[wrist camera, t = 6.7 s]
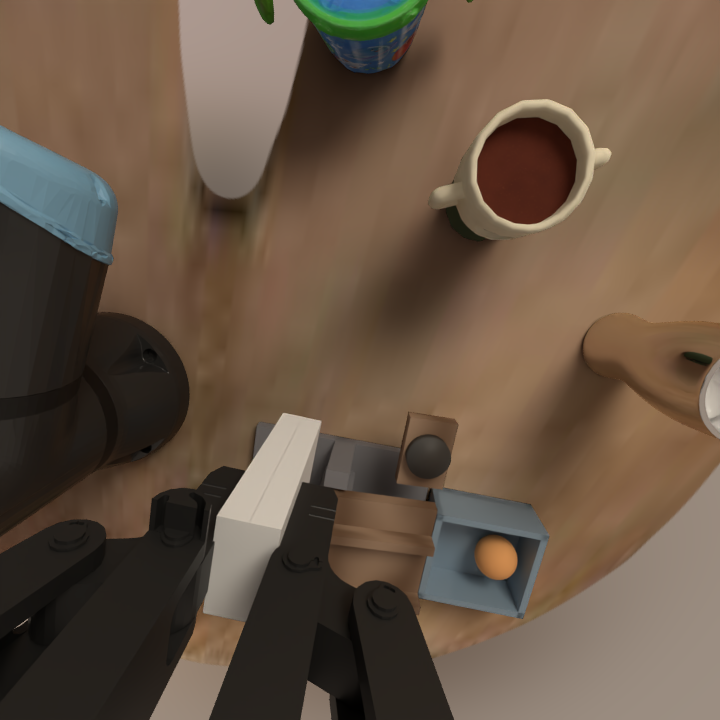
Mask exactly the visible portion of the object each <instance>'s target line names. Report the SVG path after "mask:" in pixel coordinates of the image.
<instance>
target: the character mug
mask: <svg viewBox="0 0 720 720" xmlns="http://www.w3.org/2000/svg"><path fill="white" fill-rule="evenodd" d="M611 154H612V153H611V152H610V151H609V149H608V148H597V149H595V148H594V145H593V142H592V138H591V135H590V132H589V129H588V127H587V126H586V125H585V124H584V122H583V121H582V120H581V119H580V118H579V117H578V116H577V115H576V113H575V112H574V111H573V110H572V109H570V108H568V107H566V106H563V105H561V104H558V103H556V102H554V101H551V100H549V99H544V100H523V101H521V102H519V103H517V104H514V105H512V106H510V107H508V108H506V109H504V110H502V111H500V112H499V113H498V114H497V115H496V116H495V117H494V118H493V119H492V120H491V121H490V122H489V123H488V124H487V125H486V126H485V128H484V129H483V130H482V131H481V132H480V133H479V134H478V135H477V137H476V138H475V140H474V141H473V143H472V144H471V146H470V147H469V149H468V150H467V152H466V153H465V155H464V156H463V158H462V160H461V162H460V165H459V167H458V170H457V172H456V174H455V177H454V180H453V182H452V184H450V185H446V186H442V187H439V188H437V189H436V190H434V191H433V192H432V193H431V195H430V197H429V201H428V204H429V206H430V207H431V208H432V209H442V208H446V213H447V216H448V218H449V221H450V224H451V226H452V228H453V229H455V230H456V231H457V232H458V233H459V234H460V235H462V236H463V237H464V238H468V239H471V240H475V241H482V240H484V239H485V238H487V239H490V240H508V239H514V238H519V237H523V236H526V235H530V234H534V233H537V232H540V231H543V230H546V229H549V228H551V227H553V226H555V225H556V224H558V223H560V222H562V221H563V220H565V219H566V218H567V217H568V216H569V215H570V214H571V213H572V212H573V210H574V209H575V208H576V207H577V206H578V205H579V204H580V203H581V202H582V200H583V198H584V196H585V194H586V191H587V189H588V187H589V185H590V183H591V181H592V179H593V171H594V170H595V169H597V168H599V167H601V166H603V165H604V164H605V163H607V162H608V161H609V159H610V156H611Z"/></svg>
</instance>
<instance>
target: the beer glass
mask: <svg viewBox="0 0 720 720" xmlns="http://www.w3.org/2000/svg"><path fill="white" fill-rule="evenodd" d="M583 356H584V359H585V361H586V363H587V365H588V366H589V367H590V368H591V369H592V370H593V371H594V372H595V373H597V374H599V375H601V376H603V377H607V378H612V379H618V380H622V381H623V382H624V383H626V384H627V385H628V386H629V387H630V388H631V389H632V390H633V391H634V392H635V393H636V394H638V395H639V396H640V397H641V398H642V399H643V400H644V401H646V402H647V403H648V404H650V405H651V406H652V407H654V408H655V409H656V410H658V411H659V412H661V413H663V414H665V415H666V416H668V417H670V418H671V419H673V420H675V421H677V422H679V423H682V424H684V425H686V426H688V427H690V428H692V429H695V430H697V431H700V432H702V433H704V434H707V435H709V436H712V437H715V438H717V439H719V440H720V323H714V322H706V321H676V322H660V323H650V322H648V321H646V320H644V319H642V318H640V317H638V316H636V315H633V314H629V313H614V314H610V315H607V316H605V317H603V318H601V319H599V320H598V321H597V322H595V323H594V324H593V325H592V326H591V328H590V329H589V330H588V332H587V334H586V336H585V338H584V341H583Z"/></svg>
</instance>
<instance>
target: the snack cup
mask: <svg viewBox="0 0 720 720" xmlns="http://www.w3.org/2000/svg"><path fill="white" fill-rule="evenodd" d="M254 1H255V4H256V6H257V9H258V11H259V13H260V15H261V17H262V19H263V20H264V21H265V22H266V23H267V24H272V23H273V22H274V8H273V0H254ZM427 1H428V0H294V2H295V3H296V5H297V6H298V8H299V9H300V10H301V11H302V12H303V14H304V15H305V16H306V17H307V18H308V19H309V20H310V21H311V22H312V23H313V24H314V26H315V27H316V29H317V31H318V32H319V34H320V35H321V37H322V39H323V40H324V42H325V43H326V45H327V47H328V48H329V50H330V51H331V53H332V54H333V55H334V56H335V57H336V58H337V59H338V60H339V61H340V62H341V63H342V64H343V65H344V66H345V67H346V68H347V69H349V70H351V71H353V72H354V73H355V72H361V73H367V74H369V73H376V72H379V71H382V70H385V69H387V68H392V67H393V66H394V65H395V64H396V63H397V62H398V61H399V60H400V59H401V58H402V57H403V55H404V54H405V53H406V52H407V50H408V48H409V47H410V45H411V43H412V41H413V38H414V36H415V34H416V31H417V29H418V26H419V22H420V20H421V17H422V15H423V13H424V10H425V7H426V4H427ZM472 1H473V0H467V2H468V3H469V2H472Z"/></svg>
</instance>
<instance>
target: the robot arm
mask: <svg viewBox="0 0 720 720" xmlns="http://www.w3.org/2000/svg"><path fill="white" fill-rule="evenodd" d="M117 215H118V204H117V199H116V196H115V194H114V192H113V190H112V189H111V187H110V186H109V185H108V184H107V183H106V181H105V180H103V179H102V178H101V177H100V176H99V175H97V174H95V173H94V172H92V171H90V170H88V169H86V168H85V167H83V166H81V165H79V164H77V163H75V162H73V161H71V160H69V159H67V158H65V157H63V156H61V155H59V154H57V153H55V152H53V151H51V150H49V149H47V148H45V147H43V146H41V145H39V144H37V143H35V142H33V141H31V140H29V139H27V138H24V137H22V136H20V135H18V134H16V133H14V132H12V131H10V130H8V129H6V128H5V127H3V126H1V125H0V537H1V536H2V535H4V534H5V533H6V532H8V531H9V530H11V529H12V528H14V527H15V526H17V525H18V524H19V523H21V522H22V521H24V520H25V519H27V518H28V517H30V516H31V515H32V514H34V513H35V512H37V511H38V510H40V509H41V508H43V507H44V506H45V505H47V504H48V503H50V502H51V501H53V500H54V499H56V498H57V497H58V496H60V495H61V494H63V493H64V492H66V491H67V490H69V489H70V488H71V487H73V486H74V485H76V484H77V483H79V482H80V481H82V480H83V479H84V478H86V477H87V476H88V475H90V474H91V473H93V472H94V471H96V470H99V469H103V468H108V467H112V466H116V465H120V464H124V463H128V462H132V461H136V460H139V459H141V458H144V457H146V456H148V455H150V454H151V453H153V452H155V451H156V450H157V449H159V448H160V447H161V446H163V445H164V444H165V443H166V442H168V441H169V440H170V439H171V438H172V437H173V436H174V435H175V434H176V433H177V431H178V430H179V429H180V427H181V425H182V423H183V421H184V419H185V417H186V414H187V410H188V405H189V384H188V378H187V374H186V371H185V368H184V366H183V363H182V361H181V359H180V357H179V356H178V354H177V352H176V351H175V349H174V348H173V347H172V345H171V344H170V343H169V342H168V341H167V339H166V338H165V337H164V336H163V335H161V334H160V333H159V332H158V331H157V330H155V329H154V328H153V327H151V326H150V325H148V324H146V323H145V322H143V321H141V320H139V319H137V318H134V317H131V316H128V315H124V314H119V313H110V312H103V313H97V312H98V307H99V303H100V299H101V294H102V290H103V286H104V281H105V277H106V273H107V270H108V266H109V265H111V264H112V262H113V259H114V258H113V256H112V254H111V251H112V245H113V239H114V233H115V227H116V221H117ZM321 422H322V421H319V420H315V419H310V418H305V417H301V416H296V415H291V414H287V413H283V414H282V416H281V417H280V419H279V421H278V422H277V424H276V425H275V427H274V428H273V430H272V431H271V433H270V434H269V436H268V437H267V439H266V441H265V442H264V444H263V445H262V447H261V448H260V450H259V451H258V453H257V454H256V456H255V458H254V459H253V461H252V462H251V464H250V465H249V467H248V468H247V470H246V471H244V470H240V469H235V468H230V467H226V466H223V467H221V468H219V469H217V470H215V471H213V472H211V473H210V474H209V475H208V476H207V477H206V479H205V480H204V481H203V482H202V484H201V485H200V486H199V487H198V489H197V490H195V489H188V488H178V489H170V490H167V491H165V492H162V493H159V494H158V495H157V496H155V497H154V498H152V503H151V513H150V524H149V531H148V532H147V533H146V534H145V535H144V536H143V537H139V538H129V539H106V532H105V528H104V527H103V526H102V525H101V524H99V523H98V522H95V521H91V520H87V519H86V520H69V521H65V522H60V523H57V524H55V525H53V526H50V527H48V528H46V529H44V530H42V531H40V532H38V533H37V534H35V535H33V536H31V537H30V538H28V539H26V540H24V541H22V542H21V543H19V544H17V545H15V546H13V547H12V548H10V549H8V550H6V551H5V552H3V553H1V554H0V720H149V719H150V717H151V715H152V713H153V711H154V709H155V707H156V705H157V703H158V701H159V699H160V697H161V695H162V693H163V691H164V689H165V687H166V685H167V683H168V681H169V679H170V677H171V675H172V673H173V671H174V669H175V667H176V665H177V663H178V661H179V660H180V658H181V656H182V654H183V652H184V650H185V648H186V646H187V644H188V642H189V640H190V638H191V636H192V634H193V630H194V627H195V622H196V615H197V611H198V609H199V607H200V606H201V604H202V602H203V600H204V598H205V601H204V608H203V613H206V614H210V615H215V616H220V617H224V618H229V619H234V620H238V621H243V622H246V623H245V625H244V628H243V631H242V633H241V636H240V639H239V641H238V644H237V647H236V649H235V652H234V655H233V657H232V660H231V663H230V665H229V668H228V671H227V673H226V676H225V678H224V681H223V684H222V687H221V689H220V692H219V694H218V697H217V700H216V702H215V705H214V708H213V710H212V713H211V716H210V718H209V720H300V718H301V712H302V707H303V702H304V696H305V690H306V684H307V680H308V681H310V682H311V683H313V684H315V685H316V686H318V687H319V688H321V689H323V690H324V691H326V692H327V693H329V694H330V699H329V700H330V709H331V719H332V720H454V718H453V716H452V713H451V710H450V707H449V705H448V702H447V699H446V697H445V694H444V691H443V688H442V685H441V683H440V680H439V677H438V675H437V672H436V669H435V666H434V663H433V661H432V658H431V655H430V652H429V650H428V647H427V644H426V641H425V639H424V636H423V633H422V630H421V628H420V625H419V622H418V619H417V617H416V614H415V611H414V608H413V606H412V604H411V602H410V600H409V599H408V597H407V595H406V594H405V593H404V592H402V591H401V590H400V589H399V588H398V587H396V586H394V585H392V584H390V583H388V582H384V581H378V580H374V581H367V582H365V583H363V584H361V585H360V586H358V588H355V587H353V586H351V585H349V584H348V583H346V582H344V581H343V580H341V579H340V578H339V577H338V576H337V575H336V574H335V573H334V572H333V570H332V569H331V567H330V564H329V561H328V554H329V548H330V543H331V537H332V531H333V526H334V520H335V514H336V508H337V503H338V498H337V495H336V493H335V491H334V489H333V488H329V487H324V486H320V485H315V484H310V483H309V482H310V477H311V472H312V467H313V462H314V457H315V452H316V447H317V442H318V437H319V432H320V427H321ZM26 619H28V621H26V622H25V623H24V624H22V625H21V626H19V627H17V626H18V625H20V624H21V623H22V622H24V621H25V620H26ZM16 627H17V628H16ZM14 628H15V629H14Z"/></svg>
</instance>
